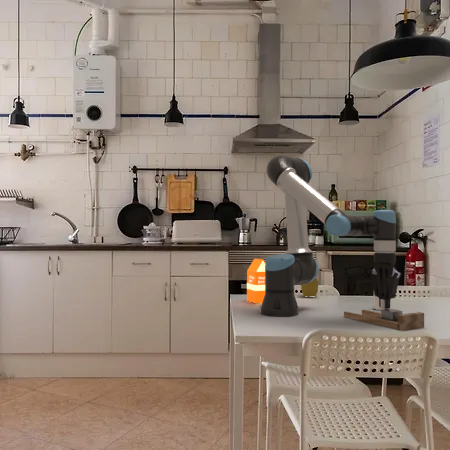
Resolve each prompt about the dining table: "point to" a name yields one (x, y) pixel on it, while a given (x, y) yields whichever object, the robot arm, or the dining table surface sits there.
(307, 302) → the dining table surface
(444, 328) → the dining table surface
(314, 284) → the flower pot
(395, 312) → the block
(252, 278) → the orange juice
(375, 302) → the can
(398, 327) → the oak track
